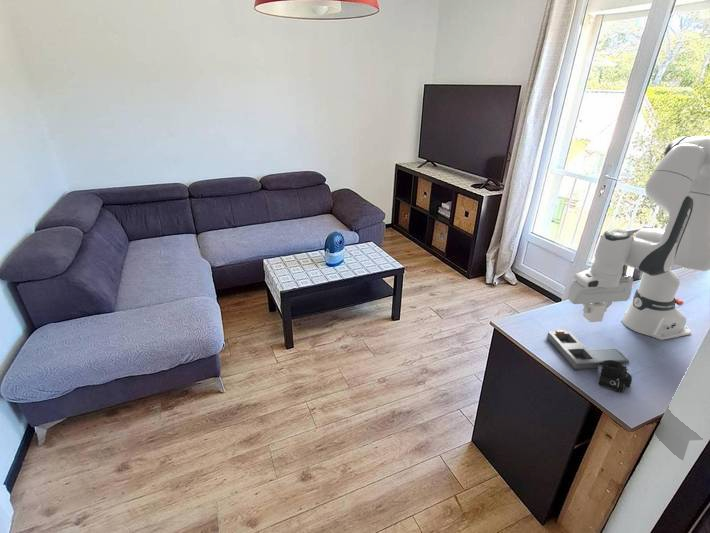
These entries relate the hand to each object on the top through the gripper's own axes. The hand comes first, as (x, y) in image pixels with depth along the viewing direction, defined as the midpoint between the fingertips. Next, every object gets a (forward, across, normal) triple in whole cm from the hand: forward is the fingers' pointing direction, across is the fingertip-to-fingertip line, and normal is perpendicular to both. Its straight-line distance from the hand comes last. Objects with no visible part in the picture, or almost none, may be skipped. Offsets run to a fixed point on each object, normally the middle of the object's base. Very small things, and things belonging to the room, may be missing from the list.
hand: (594, 311), depth 129 cm
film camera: (+15, +2, +18) cm, 23 cm away
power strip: (+14, +8, +4) cm, 17 cm away
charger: (+3, 0, 0) cm, 3 cm away
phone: (+14, -2, +8) cm, 17 cm away
